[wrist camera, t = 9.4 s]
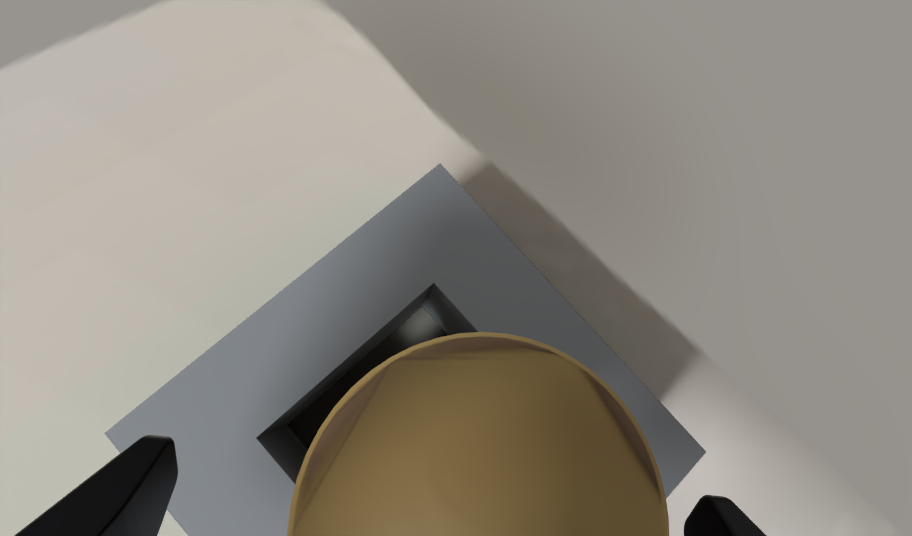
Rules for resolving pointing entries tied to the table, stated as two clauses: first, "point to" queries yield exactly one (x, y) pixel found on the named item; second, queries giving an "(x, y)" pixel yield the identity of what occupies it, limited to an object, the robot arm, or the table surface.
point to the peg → (479, 449)
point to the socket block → (363, 355)
